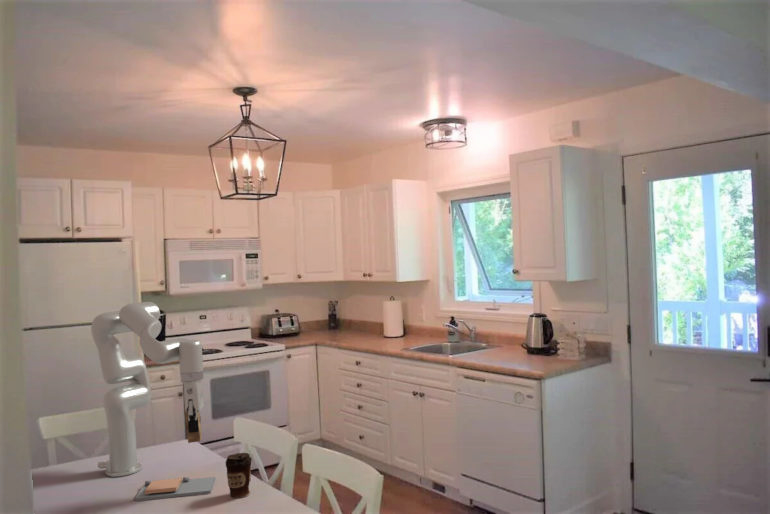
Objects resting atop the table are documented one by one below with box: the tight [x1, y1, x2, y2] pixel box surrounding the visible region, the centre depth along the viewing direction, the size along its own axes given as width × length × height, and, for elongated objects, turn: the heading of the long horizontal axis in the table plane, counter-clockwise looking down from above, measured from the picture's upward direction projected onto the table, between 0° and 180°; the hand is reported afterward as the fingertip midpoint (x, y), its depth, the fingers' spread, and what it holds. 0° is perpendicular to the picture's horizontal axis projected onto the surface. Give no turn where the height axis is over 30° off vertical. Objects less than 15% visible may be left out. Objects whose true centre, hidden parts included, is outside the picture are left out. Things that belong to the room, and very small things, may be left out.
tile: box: [145, 477, 183, 494], centre depth 209 cm, size 10×10×1 cm
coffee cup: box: [225, 452, 253, 499], centre depth 202 cm, size 9×8×13 cm
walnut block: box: [183, 406, 203, 444], centre depth 210 cm, size 4×4×12 cm
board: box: [134, 476, 217, 502], centre depth 210 cm, size 24×13×2 cm, turn 98°
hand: (194, 429), depth 210 cm, fingers closed on walnut block, 4 cm apart
